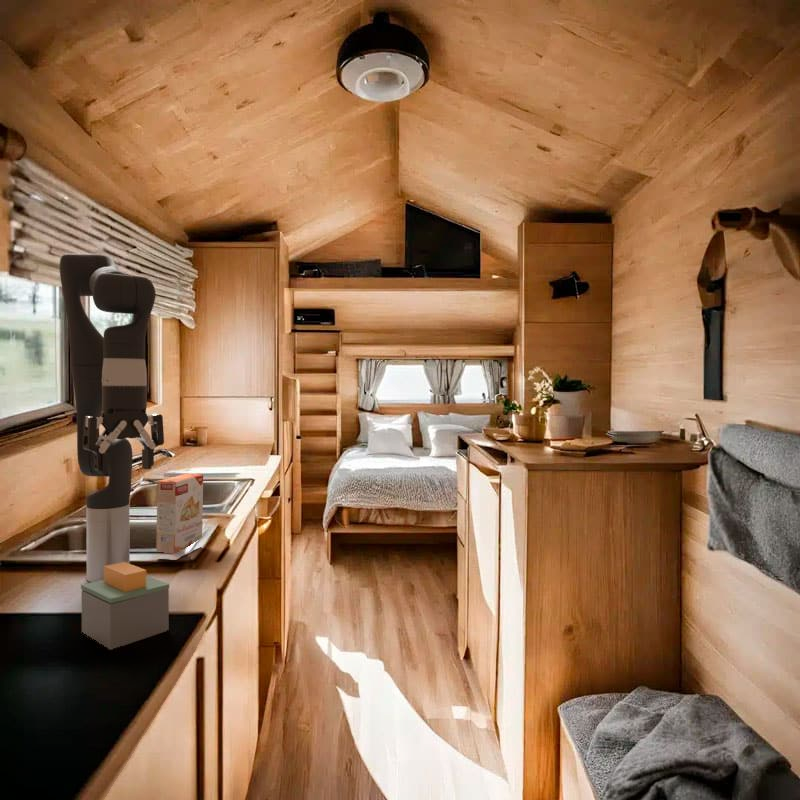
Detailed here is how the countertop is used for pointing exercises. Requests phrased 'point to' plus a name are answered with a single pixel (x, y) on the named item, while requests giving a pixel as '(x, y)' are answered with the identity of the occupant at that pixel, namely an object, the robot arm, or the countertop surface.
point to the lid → (115, 594)
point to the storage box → (125, 618)
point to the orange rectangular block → (125, 576)
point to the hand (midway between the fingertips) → (125, 471)
